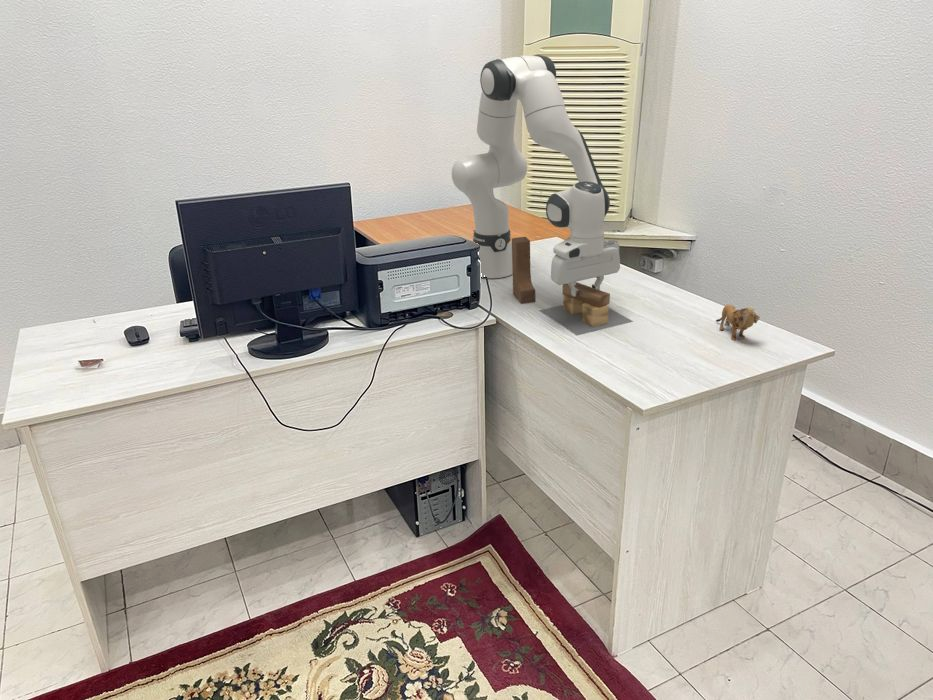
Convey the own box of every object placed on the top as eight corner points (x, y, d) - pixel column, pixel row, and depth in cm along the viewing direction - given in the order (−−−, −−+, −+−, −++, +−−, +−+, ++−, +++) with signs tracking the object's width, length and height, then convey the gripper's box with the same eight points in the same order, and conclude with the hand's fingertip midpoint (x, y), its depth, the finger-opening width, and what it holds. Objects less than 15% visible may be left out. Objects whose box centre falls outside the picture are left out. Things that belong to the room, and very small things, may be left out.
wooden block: (535, 303, 201) (535, 244, 193) (521, 305, 200) (520, 246, 193) (526, 293, 209) (525, 236, 201) (512, 294, 208) (511, 237, 201)
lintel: (599, 307, 182) (599, 297, 180) (562, 294, 192) (562, 284, 191) (609, 304, 184) (609, 293, 182) (572, 290, 194) (572, 280, 193)
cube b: (582, 320, 187) (582, 303, 185) (597, 316, 189) (598, 300, 186) (592, 326, 183) (592, 309, 181) (607, 323, 184) (608, 306, 182)
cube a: (563, 308, 195) (563, 292, 193) (578, 305, 197) (578, 289, 195) (572, 314, 191) (572, 297, 189) (587, 310, 193) (588, 294, 191)
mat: (539, 311, 195) (539, 310, 195) (592, 299, 201) (592, 298, 201) (576, 336, 179) (576, 335, 178) (633, 322, 185) (633, 321, 185)
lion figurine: (759, 342, 170) (764, 309, 166) (740, 346, 169) (745, 312, 165) (724, 321, 183) (727, 289, 179) (706, 324, 182) (710, 292, 178)
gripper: (612, 235, 187) (610, 282, 193) (547, 248, 180) (547, 296, 186) (626, 241, 182) (623, 289, 188) (560, 254, 175) (559, 304, 181)
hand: (585, 293), depth 187 cm, fingers open, 5 cm apart
